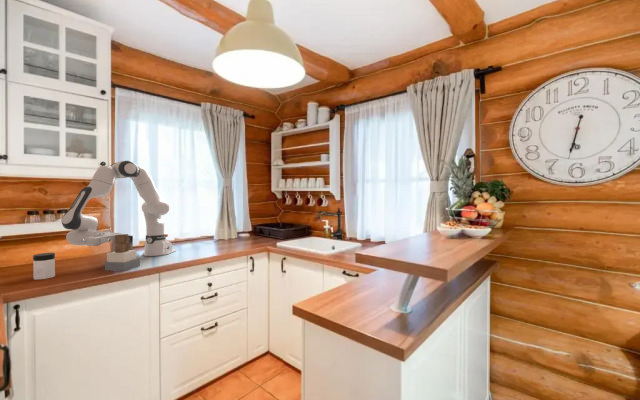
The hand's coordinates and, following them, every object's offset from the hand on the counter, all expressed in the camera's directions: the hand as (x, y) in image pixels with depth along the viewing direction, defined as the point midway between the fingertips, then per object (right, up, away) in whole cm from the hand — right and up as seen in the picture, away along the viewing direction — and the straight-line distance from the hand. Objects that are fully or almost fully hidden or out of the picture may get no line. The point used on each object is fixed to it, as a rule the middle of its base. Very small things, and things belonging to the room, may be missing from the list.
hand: (116, 238), depth 166 cm
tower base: (+4, -17, +1) cm, 18 cm away
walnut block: (+4, -7, 0) cm, 8 cm away
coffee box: (-8, -17, +17) cm, 26 cm away
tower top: (+3, -12, 0) cm, 13 cm away
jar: (-24, -17, -19) cm, 35 cm away
